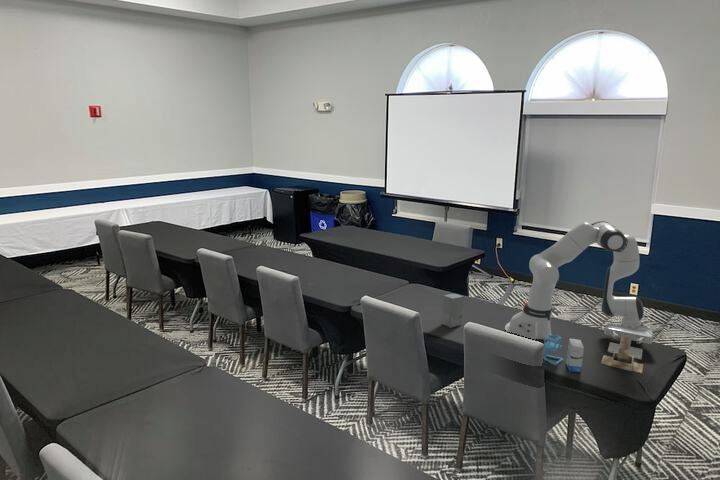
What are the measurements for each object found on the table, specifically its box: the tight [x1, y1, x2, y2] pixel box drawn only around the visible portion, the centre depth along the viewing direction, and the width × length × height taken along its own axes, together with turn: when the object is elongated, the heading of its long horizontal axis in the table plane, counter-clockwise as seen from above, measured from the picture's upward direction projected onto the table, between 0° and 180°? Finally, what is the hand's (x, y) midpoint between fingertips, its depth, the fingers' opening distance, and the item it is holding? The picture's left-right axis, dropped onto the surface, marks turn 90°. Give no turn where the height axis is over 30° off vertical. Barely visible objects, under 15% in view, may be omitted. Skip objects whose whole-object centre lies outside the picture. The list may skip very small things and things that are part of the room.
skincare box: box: [441, 293, 464, 329], centre depth 269 cm, size 8×7×16 cm
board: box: [607, 341, 644, 360], centre depth 244 cm, size 14×10×1 cm
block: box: [616, 336, 632, 363], centre depth 231 cm, size 4×5×12 cm
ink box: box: [565, 338, 585, 373], centre depth 227 cm, size 8×5×12 cm, turn 168°
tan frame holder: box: [600, 352, 644, 375], centre depth 232 cm, size 16×9×3 cm, turn 59°
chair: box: [542, 334, 564, 367], centre depth 234 cm, size 8×8×12 cm
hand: (626, 339), depth 240 cm, fingers open, 8 cm apart
